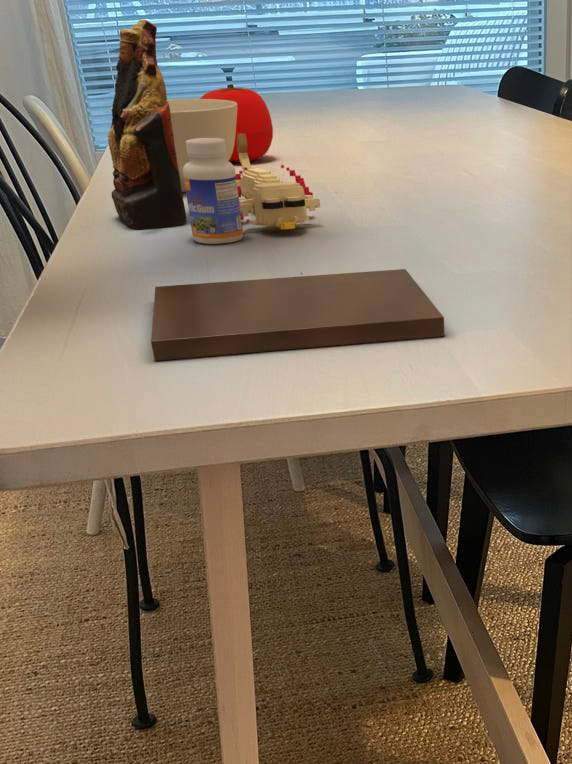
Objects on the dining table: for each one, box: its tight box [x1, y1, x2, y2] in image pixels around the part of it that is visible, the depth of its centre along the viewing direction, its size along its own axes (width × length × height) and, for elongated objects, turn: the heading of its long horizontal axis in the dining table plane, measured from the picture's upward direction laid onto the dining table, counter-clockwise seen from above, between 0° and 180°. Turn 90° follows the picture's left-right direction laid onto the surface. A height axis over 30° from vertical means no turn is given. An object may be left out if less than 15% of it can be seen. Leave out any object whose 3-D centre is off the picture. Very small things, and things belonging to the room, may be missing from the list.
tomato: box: [199, 83, 274, 163], centre depth 151 cm, size 12×12×10 cm
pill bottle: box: [183, 138, 244, 245], centre depth 104 cm, size 5×5×10 cm
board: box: [150, 268, 445, 362], centre depth 81 cm, size 22×16×2 cm
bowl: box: [110, 98, 237, 193], centre depth 131 cm, size 16×16×10 cm
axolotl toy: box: [236, 134, 321, 230], centre depth 115 cm, size 10×9×25 cm
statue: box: [107, 19, 187, 230], centre depth 110 cm, size 12×8×20 cm, turn 22°
